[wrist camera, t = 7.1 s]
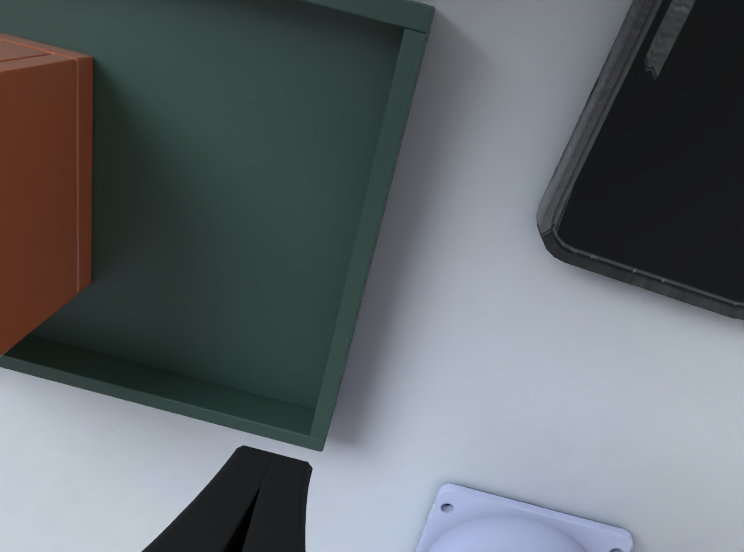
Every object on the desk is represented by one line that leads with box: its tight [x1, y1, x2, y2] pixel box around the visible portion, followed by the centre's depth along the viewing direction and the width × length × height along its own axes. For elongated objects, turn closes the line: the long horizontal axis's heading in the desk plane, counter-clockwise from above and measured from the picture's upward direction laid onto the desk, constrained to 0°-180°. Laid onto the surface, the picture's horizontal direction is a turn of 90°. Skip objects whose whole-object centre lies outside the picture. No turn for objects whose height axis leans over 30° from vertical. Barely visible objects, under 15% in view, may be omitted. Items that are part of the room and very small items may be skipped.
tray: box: [0, 0, 435, 452], centre depth 19 cm, size 15×21×2 cm
